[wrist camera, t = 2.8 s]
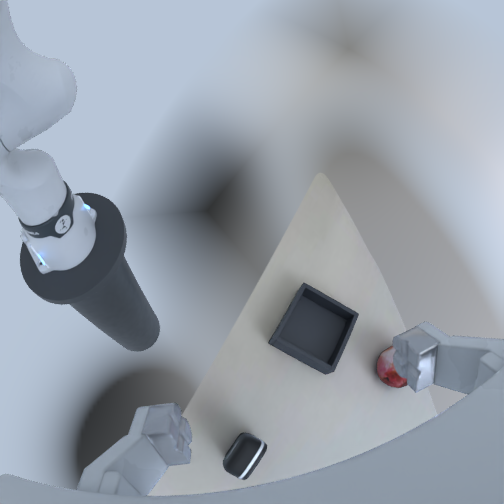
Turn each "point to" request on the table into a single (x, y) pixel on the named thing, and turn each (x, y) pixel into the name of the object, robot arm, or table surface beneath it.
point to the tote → (315, 329)
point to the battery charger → (244, 455)
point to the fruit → (389, 369)
